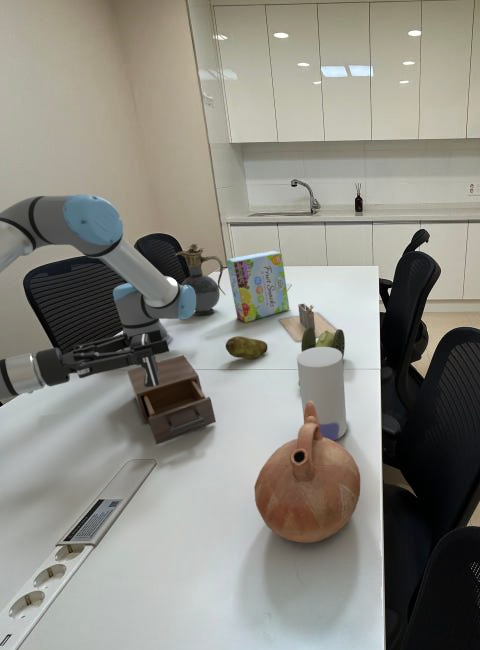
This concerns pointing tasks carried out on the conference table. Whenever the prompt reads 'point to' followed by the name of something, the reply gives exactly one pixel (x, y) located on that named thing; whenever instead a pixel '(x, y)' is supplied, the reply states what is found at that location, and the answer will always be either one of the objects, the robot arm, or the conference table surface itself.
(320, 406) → the container
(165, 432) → the drawer
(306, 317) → the ruin model on sheet
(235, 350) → the potato
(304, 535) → the jug
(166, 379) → the cabinet
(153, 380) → the battery charger
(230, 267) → the snack box
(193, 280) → the pitcher
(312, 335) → the cannon
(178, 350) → the conference table surface
